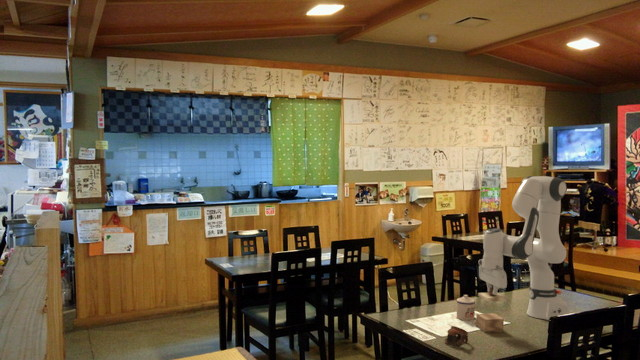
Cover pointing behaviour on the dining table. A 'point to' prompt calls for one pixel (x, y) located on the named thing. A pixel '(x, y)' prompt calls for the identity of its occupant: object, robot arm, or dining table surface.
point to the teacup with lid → (465, 308)
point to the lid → (492, 296)
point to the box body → (490, 322)
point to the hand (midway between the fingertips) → (492, 293)
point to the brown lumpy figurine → (454, 339)
